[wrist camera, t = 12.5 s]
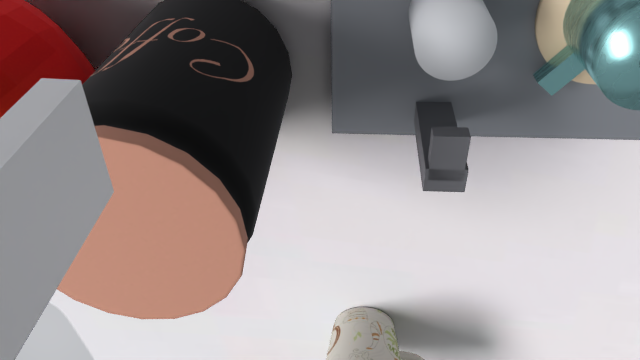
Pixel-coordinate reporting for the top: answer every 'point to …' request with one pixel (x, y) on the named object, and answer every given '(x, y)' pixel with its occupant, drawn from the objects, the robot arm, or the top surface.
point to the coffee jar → (181, 157)
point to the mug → (365, 337)
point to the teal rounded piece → (599, 50)
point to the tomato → (34, 52)
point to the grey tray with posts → (460, 78)
